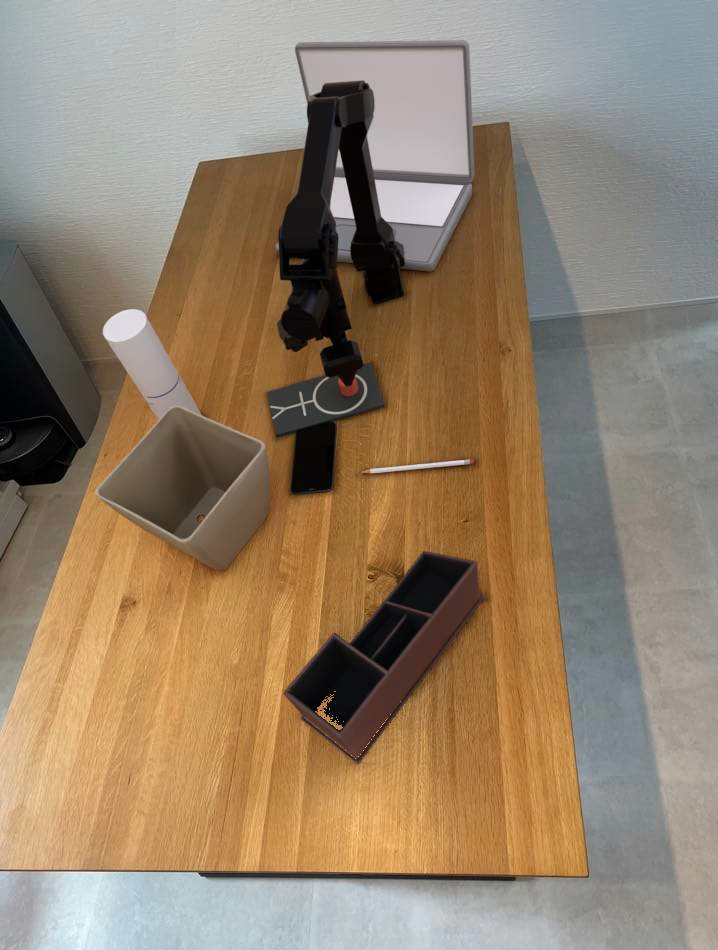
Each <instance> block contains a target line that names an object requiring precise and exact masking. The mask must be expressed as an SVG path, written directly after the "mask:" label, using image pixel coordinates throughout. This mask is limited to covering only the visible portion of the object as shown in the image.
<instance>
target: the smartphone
mask: <svg viewBox="0 0 718 950" xmlns="http://www.w3.org/2000/svg"><path fill="white" fill-rule="evenodd" d="M337 430H338V426H337V423H335V421H334V422H328V423H322V424H318V425H315V426H311V427H308V428H304V429H301V430H297V431H296V432H295V438H294V450H293V460H292V468H291V469H292V470H291V481H290V493H291V494H292V495H294V496H301V495H313V494H323V493H330V492H332V491H333V490H334V486H335V470H336V448H337V434H338V433H337V432H338V431H337Z"/></svg>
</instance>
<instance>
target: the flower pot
mask: <svg viewBox="0 0 718 950" xmlns="http://www.w3.org/2000/svg"><path fill="white" fill-rule="evenodd" d="M270 473H271V472H270V463H269V457H268V451H267V447H266V443H265V442H264V441H262V440H260V439H258V438H255V437H254V436H251V435H248V434H246V433H243V432H242V431H239V430H237V429H234V428H232V427H230V426H227V425H225V424H222V423H221V422H218V421H216V420H214V419H212V418H209V417H207V416H204V415H202V414H201V415H200V414H198V413H195V412H193V411H191V410H189V409H187V408H184V407H182V406H180V405H174V406H171V407H170V408H169V409H168V410H167V411H166V413H165V414H164V415H163V416H162V417H161V418H160V419H159V420H158V419H157V421H156V423H154V425H153V426H152V427H151V428H150V429H149V430H148V431H147V433H146V434H145V435H144V436H143V437H142V438H141V439H140V440H139V441H138V442H137V444H136V445H135V446H133V448H131V450H130V451H129V452H128V453H127V454H126V456H125V457H124V458H123V459H121V461H120V462H119V463H118V464H117V465H116V466H115V467H114V469H113V470H112V471H111V472H110V473H109V474H108V475H107V476H106V477H105V478H104V480H102V482H100V484H99V485H98V486H97V487H96V489H95V491H94V493H95V496H96V497H97V498H98V499H99V500H101V501H102V502H103V503H104V504H106V505H107V506H108V507H110V508H111V509H112V510H114V511H115V512H116V513H118V514H119V515H121V516H122V517H123V518H124V519H126V520H127V521H129V522H131V523H132V524H134V525H135V526H137V527H138V528H140V529H142V530H143V531H145V532H147V533H148V534H150V535H152V536H154V537H156V538H157V539H159V540H161V541H163V542H165V543H166V544H168V545H170V546H172V547H174V548H176V549H178V550H179V551H181V552H183V553H185V554H187V555H189V556H191V557H192V558H194V559H195V560H198V561H199V562H201V563H202V564H204V565H206V566H207V567H210V568H211V569H213V570H215V571H218V572H224V571H226V570H227V569H228V568H229V567H230V566H231V564H232V563H233V562H234V560H235V559H236V558H237V557H238V555H239V554H240V553H241V551H242V550H243V549H244V548H245V546H246V545H247V544H248V543H249V541H250V540H251V538H252V537H253V536H254V535H255V534H256V532H257V531H258V530H259V528H260V527H261V526H262V524H263V523H264V522H265V521H266V519H267V518H268V515H269V510H270V500H271V499H270V498H271V474H270ZM200 516H203V517H204V518H203V519H202V520H201V521H198V517H200Z"/></svg>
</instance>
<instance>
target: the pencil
mask: <svg viewBox="0 0 718 950" xmlns="http://www.w3.org/2000/svg"><path fill="white" fill-rule="evenodd" d="M474 464H475V459H474V458H471V459H470V458H469V459H461V460H460V459H459V460H450V461H440V462H430V463H429V462H427V463H420V464H419V463H418V464H409V465H400V466H399V465H398V466H388V467H378V468H370V469H366V470H363V471H360V473H361V474H371V475H372V474H380V473H392V472H402V471H411V470H420V469H421V470H422V469H423V470H424V469H432V468H433V469H434V468H442V467H443V468H444V467H455V466H462V465H463V466H465V465H474Z"/></svg>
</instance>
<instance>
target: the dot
mask: <svg viewBox="0 0 718 950" xmlns="http://www.w3.org/2000/svg"><path fill="white" fill-rule="evenodd" d="M338 383H339V387H340V390H341V393H342V394H343V395H344V396H352V395H354V394H356V393H357V391H358V384H357V381H356V377H355V378H354V381H353V383H352V385H351V386H347V387H346V386H345V385H344V383H343V382H342V381H341V379H340V378H339V380H338Z"/></svg>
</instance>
